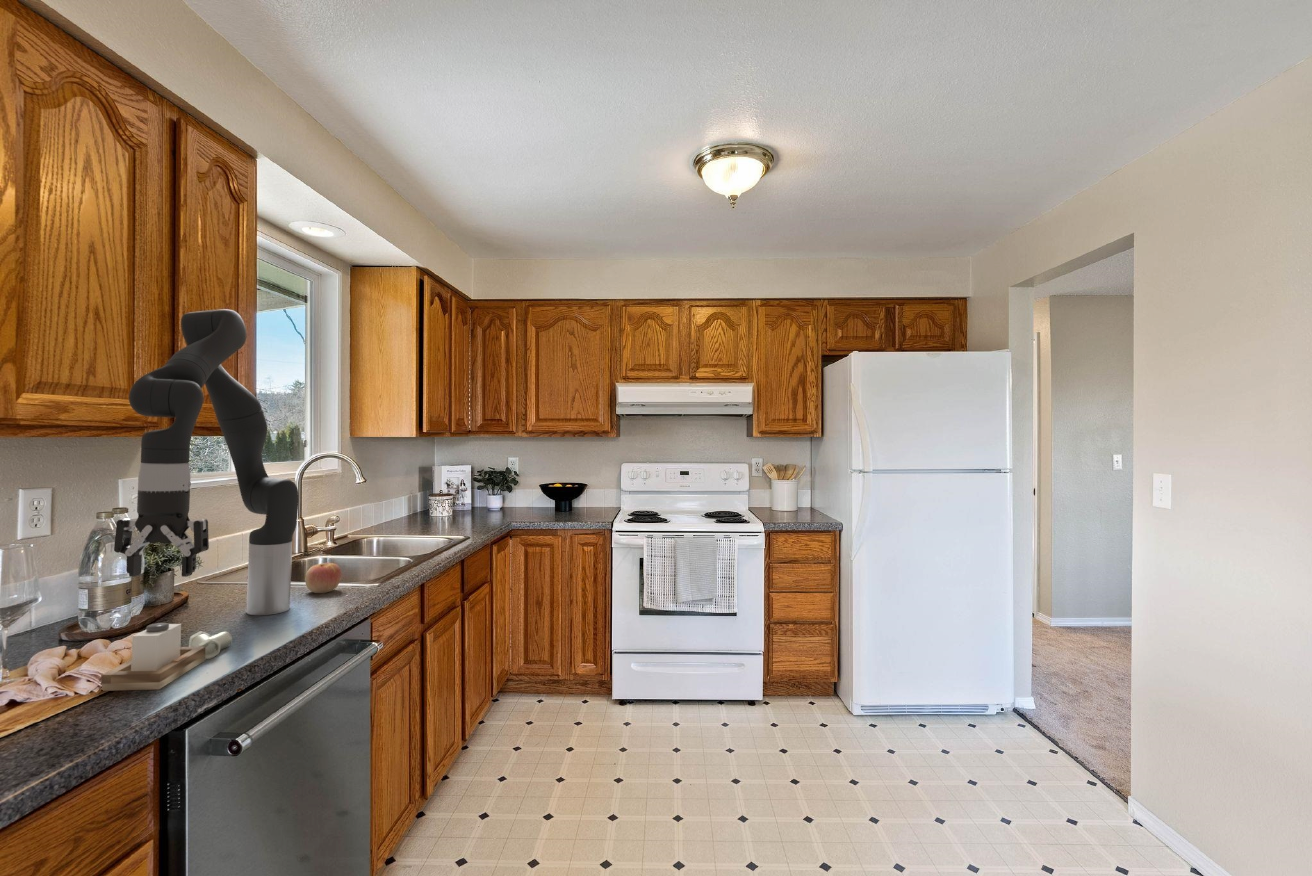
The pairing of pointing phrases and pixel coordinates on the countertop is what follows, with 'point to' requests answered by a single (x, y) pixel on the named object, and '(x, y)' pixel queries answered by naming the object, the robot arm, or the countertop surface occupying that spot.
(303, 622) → the countertop surface
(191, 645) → the pipe fitting
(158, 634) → the white rectangular block
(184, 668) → the shallow brown rectangular tray
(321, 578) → the apple
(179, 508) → the robot arm
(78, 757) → the countertop surface
